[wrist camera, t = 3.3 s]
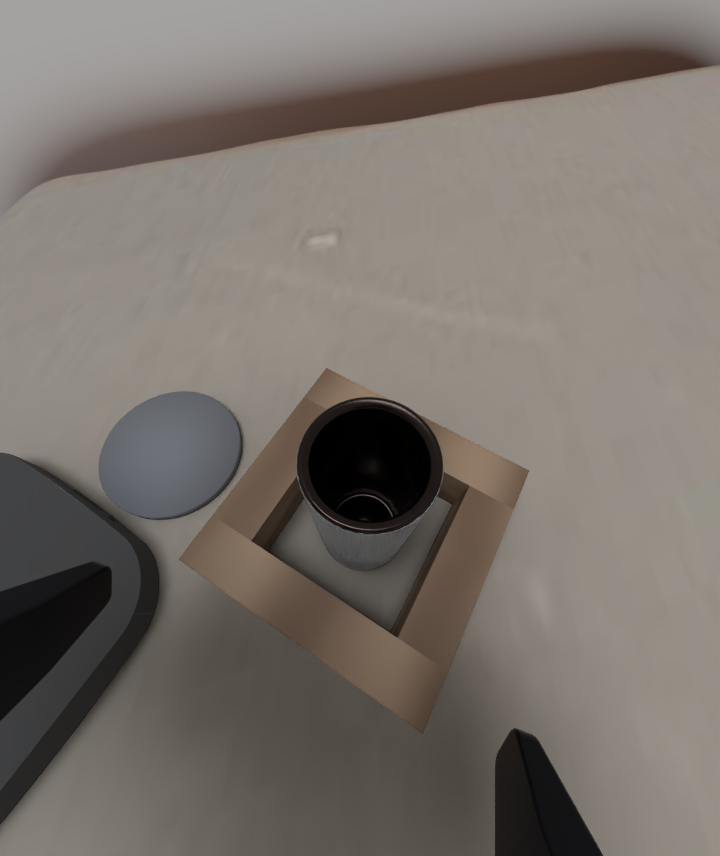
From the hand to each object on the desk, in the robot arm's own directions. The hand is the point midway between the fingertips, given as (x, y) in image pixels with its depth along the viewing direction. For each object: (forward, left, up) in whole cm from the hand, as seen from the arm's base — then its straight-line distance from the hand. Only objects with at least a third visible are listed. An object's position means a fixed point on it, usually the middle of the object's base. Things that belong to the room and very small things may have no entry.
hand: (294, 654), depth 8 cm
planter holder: (+1, -5, -12) cm, 13 cm away
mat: (+13, -3, -12) cm, 18 cm away
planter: (+1, -5, -12) cm, 13 cm away
